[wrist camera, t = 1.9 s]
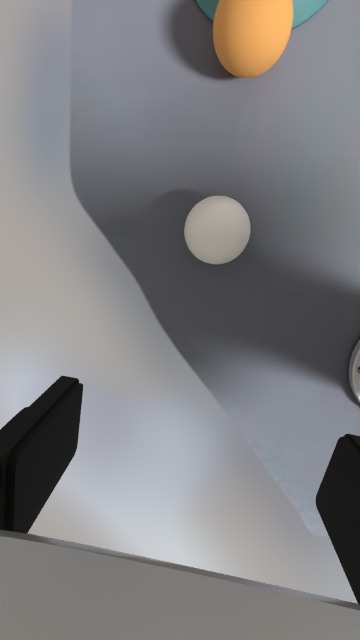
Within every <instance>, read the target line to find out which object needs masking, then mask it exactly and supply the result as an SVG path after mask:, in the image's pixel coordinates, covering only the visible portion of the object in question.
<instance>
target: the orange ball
mask: <svg viewBox="0 0 360 640" xmlns="http://www.w3.org/2000/svg"><path fill="white" fill-rule="evenodd" d="M292 23H293V3H292V0H219V3H218V5H217V9H216V12H215V16H214V23H213V41H214V47H215V50H216V54H217V56H218V59H219V60H220V62H221V64H222V65H223V66H224V68H225V69H226V70H227V71H228V72H230V73H231V74H233V75H235V76H237V77H241V78H251V77H255V76H258V75H260V74H262V73H264V72H265V71H267V70H268V69H269V68H271V67H272V66H273V65H274V63H275V62H276V61H277V60H278V59H279V57H280V56H281V54H282V52H283V51H284V49H285V47H286V45H287V42H288V39H289V36H290V33H291V29H292Z"/></svg>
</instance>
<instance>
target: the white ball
mask: <svg viewBox="0 0 360 640" xmlns="http://www.w3.org/2000/svg"><path fill="white" fill-rule="evenodd" d="M250 230H251V228H250V220H249V217H248V215H247V212H246V211H245V209H244V208H243V207H242V205H241V204H239V203H238V202H237V201H235V200H234V199H232V198H230V197H226V196H211V197H208V198H205V199H203V200H201V201H200V202H199V203H197V204H196V205H195V206H194V207H193V208H192V210H191V211H190V213H189V214H188V216H187V219H186V222H185V227H184V235H185V240H186V243H187V246H188V248H189V250H190V251H191V252H192V254H193V255H194V256H195V257H197V258H198V259H199V260H201V261H203V262H206V263H209V264H223V263H227V262H230V261H231V260H233V259H235V258H236V257H238V256H239V255H240V254H241V253H242V251H243V250H244V249H245V247H246V245H247V243H248V241H249V237H250Z"/></svg>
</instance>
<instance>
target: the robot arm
mask: <svg viewBox="0 0 360 640" xmlns="http://www.w3.org/2000/svg"><path fill="white" fill-rule="evenodd" d="M358 367H359V368H358ZM349 381H350V386H351V388H352V391H353V393H354V395H355V397H356V398H357V400H358V401H359V403H360V339H359V341H358V342H357V344H356V346H355V348H354V350H353V352H352V356H351V359H350V362H349ZM82 393H83V384H81V383H79V380H78V379H77V378H71V377H67V376H61V377H60V378H59V379H58V380H57V381H56V382H55V383H54V384H53V385H51V386H50V387H49V388H48V389H47V390H46V391H45V392H44V393H43V394H42V395H41V396H40V397H39V398H38V399H37V400H36V401H35V402H34V403H32V404H31V405H30V406H29V407H26V408H24V409H22V410H21V411H20V412H19V413H18V414H17V415H16V416H15V417H13V418H12V419H11V420H10V421H9V422H8V423H7V424H6V425H5V426H4V427H3V428H2V429H1V430H0V640H360V436H356V435H351V434H346V435H344V437H340V438H339V440H338V442H337V444H336V447H335V449H334V452H333V454H332V457H331V460H330V462H329V465H328V467H327V470H326V472H325V475H324V477H323V480H322V482H321V485H320V488H319V490H318V493H317V495H316V506H317V509H318V511H319V514H320V516H321V518H322V521H323V523H324V525H325V528H326V530H327V532H328V535H329V537H330V539H331V541H332V544H333V546H334V549H335V551H336V553H337V555H338V558H339V560H340V563H341V565H342V567H343V569H344V572H345V574H346V576H347V579H348V581H349V583H350V586H351V588H352V590H353V593H354V595H355V597H356V600H357V602H358V604H356V603H351V602H346V601H342V600H338V599H334V598H329V597H325V596H320V595H316V594H311V593H307V592H302V591H298V590H293V589H289V588H285V587H280V586H276V585H271V584H266V583H261V582H257V581H253V580H248V579H243V578H239V577H235V576H230V575H225V574H221V573H216V572H212V571H207V570H202V569H198V568H193V567H188V566H184V565H179V564H175V563H170V562H165V561H160V560H156V559H151V558H146V557H142V556H137V555H132V554H128V553H123V552H118V551H113V550H109V549H103V548H99V547H94V546H90V545H85V544H80V543H74V542H69V541H64V540H58V539H53V538H48V537H43V536H38V535H33V534H27V533H28V531H29V529H30V528H31V526H32V525H33V523H34V521H35V519H36V518H37V516H38V514H39V513H40V511H41V509H42V508H43V506H44V505H45V503H46V501H47V500H48V498H49V496H50V495H51V493H52V491H53V490H54V488H55V486H56V484H57V483H58V481H59V480H60V478H61V476H62V475H63V473H64V471H65V470H66V468H67V466H68V465H69V463H70V461H71V460H72V458H73V456H74V454H75V452H76V449H77V443H78V433H79V423H80V413H81V403H82Z"/></svg>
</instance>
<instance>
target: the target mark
mask: <svg viewBox="0 0 360 640" xmlns="http://www.w3.org/2000/svg"><path fill="white" fill-rule="evenodd" d="M195 1H196V3H197V4H198V6H199V7H200V8H201V10H202V11H203V12H204V14H205V15H206V16H207V17H208V18H209V19H210V20H211V21H213V22H214V16H215V12H216V9H217V5H218V3H219V0H195ZM327 1H328V0H292V3H293V23H292V29H294V28H296V27H297V26H299V25H300V24H302V23H303V22H305V21H306V20H308V19H309V18H310V17H311V16H313V15H314V14H315V13H316V12H317V11H318V10H319V9H320V8H321V7H322V6H323V5H324V4H325V3H326V2H327ZM292 29H291V30H292Z"/></svg>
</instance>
